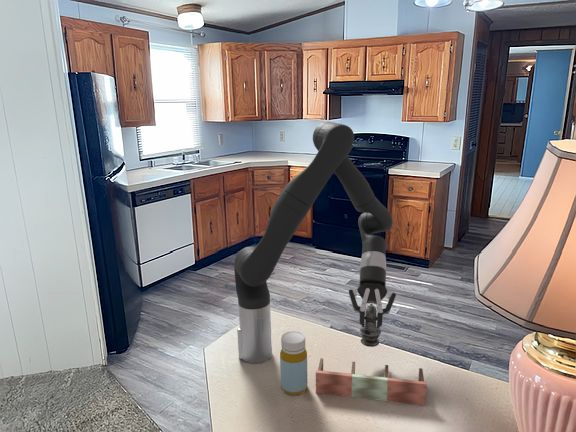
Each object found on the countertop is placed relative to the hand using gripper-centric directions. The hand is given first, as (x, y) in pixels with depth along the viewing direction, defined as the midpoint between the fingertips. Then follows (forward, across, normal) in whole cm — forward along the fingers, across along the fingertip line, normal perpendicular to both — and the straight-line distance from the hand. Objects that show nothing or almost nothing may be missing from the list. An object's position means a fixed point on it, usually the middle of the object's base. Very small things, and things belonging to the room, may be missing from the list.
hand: (370, 326), depth 118 cm
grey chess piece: (+3, 0, +6) cm, 6 cm away
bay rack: (+15, 0, +2) cm, 15 cm away
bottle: (+18, -19, 0) cm, 27 cm away
